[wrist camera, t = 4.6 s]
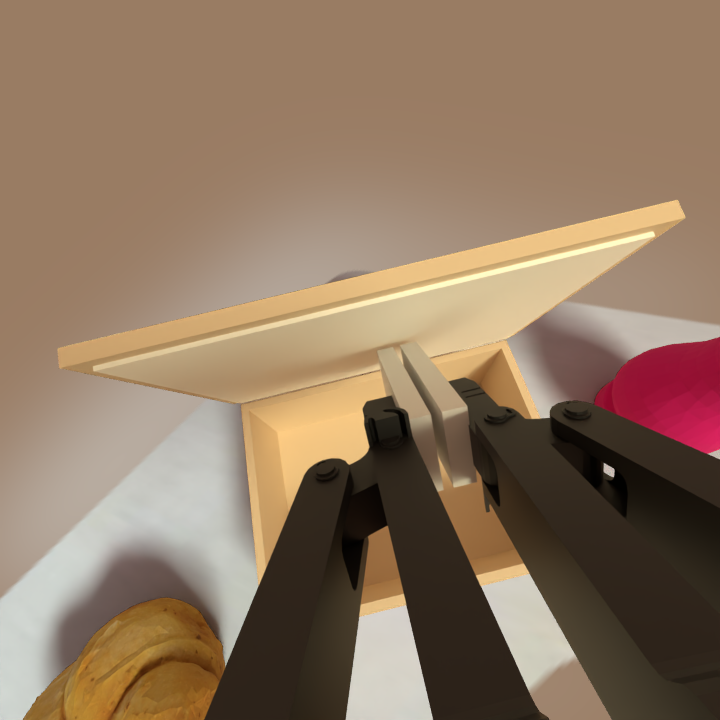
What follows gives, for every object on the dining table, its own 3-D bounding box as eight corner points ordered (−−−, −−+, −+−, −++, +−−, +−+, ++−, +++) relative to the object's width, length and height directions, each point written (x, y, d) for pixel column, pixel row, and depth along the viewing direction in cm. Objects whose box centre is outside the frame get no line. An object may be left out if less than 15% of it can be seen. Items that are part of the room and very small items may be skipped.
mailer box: (296, 611, 26) (263, 640, 19) (272, 429, 31) (240, 404, 25) (550, 547, 26) (600, 555, 20) (483, 377, 31) (506, 340, 25)
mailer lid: (59, 373, 11) (57, 348, 11) (234, 406, 24) (232, 394, 24) (687, 222, 11) (677, 199, 11) (512, 338, 24) (509, 327, 25)
